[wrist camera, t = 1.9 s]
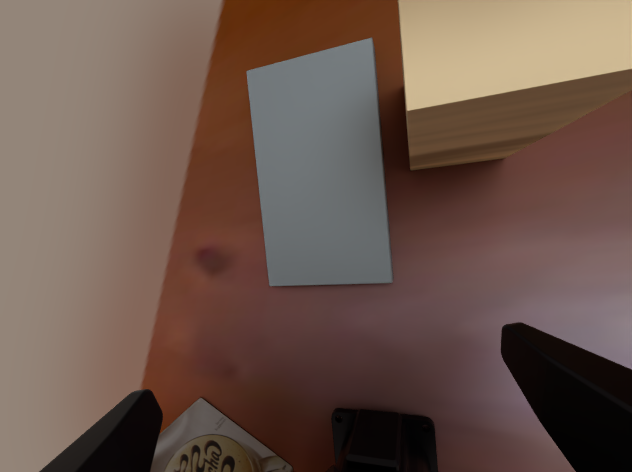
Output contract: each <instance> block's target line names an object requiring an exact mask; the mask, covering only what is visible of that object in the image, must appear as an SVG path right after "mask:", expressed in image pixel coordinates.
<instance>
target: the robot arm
mask: <svg viewBox="0 0 632 472" xmlns="http://www.w3.org/2000/svg"><path fill="white" fill-rule="evenodd" d="M501 355H502V358H503V360H504V362H505V364H506V365H507V367H508V369H509V370H510V372H511V374H512V375H513V377H514V379H515V381H516V382H517V384H518V386H519V387H520V389H521V391H522V392H523V394H524V396H525V397H526V399H527V401H528V403H529V404H530V406H531V408H532V409H533V411H534V413H535V414H536V416H537V417H538V419H539V421H540V422H541V424H542V425H543V427H544V428H545V429H546V431H547V432H548V434H549V435H550V436H551V438H552V439H553V441H554V442H555V443H556V445H557V446H558V448H559V449H560V450H561V452H562V453H563V455H564V456H565V457H566V459H567V460H568V461H569V463H570V464H571V466H572V467H573V468H574V470H575V471H576V472H632V370H631V369H629V368H627V367H624V366H622V365H620V364H617V363H615V362H613V361H610V360H608V359H606V358H603V357H601V356H599V355H596V354H594V353H592V352H589V351H587V350H585V349H582V348H580V347H578V346H575V345H573V344H571V343H568V342H566V341H564V340H561V339H559V338H557V337H554V336H552V335H550V334H547V333H545V332H543V331H540V330H538V329H536V328H533V327H531V326H529V325H526V324H524V323H520V322H517V323H512V324H506V325H504V326H503V328H502V334H501ZM338 415H339V416H341V417H342V419H339V418H338V417H337V416H338ZM162 420H163V414H162V410H161V408H160V406H159V404H158V402H157V400H156V398H155V396H154V394H153V392H152V391H151V390H149V389H144V390H139V391H134V392H132V393H131V394H129V395H128V396H127V397H126V398H124V399H123V400H122V401H121V402H120V403H119V404H117V405H116V406H115V407H114V408H113V409H112V410H110V411H109V412H108V413H107V414H106V415H105V416H103V417H102V418H101V419H100V420H99V421H98V422H96V423H95V424H94V425H93V426H92V427H91V428H90V429H88V430H87V431H86V432H85V433H84V434H83V435H81V436H80V437H79V438H78V439H77V440H76V441H74V442H73V443H72V444H71V445H70V446H69V447H67V448H66V449H65V450H64V451H63V452H62V453H61V454H59V455H58V456H57V457H56V458H55V459H53V460H52V461H51V462H50V463H49V464H48V465H47V466H45V467H44V468H43V469H42V470H41V471H39V472H150V470H151V466H152V462H153V458H154V454H155V450H156V446H157V442H158V437H159V433H160V429H161V425H162ZM423 425H428V426H429V428H424V427H423ZM332 429H333V439H334V449H335V460H336V467H335V466H334V465H332V466H331V467H330V468H329V469H328V470H327V471H326V472H438V466H437V453H436V440H435V428H434V423H433V421H432V420H431V419H430V418H428V417H423V416H413V415H403V414H398V413H393V412H383V411H373V410H363V409H361V410H352V409H342V408H337V409H335V410H334V412H333V414H332Z"/></svg>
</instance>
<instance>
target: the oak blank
mask: <svg viewBox="0 0 632 472" xmlns="http://www.w3.org/2000/svg"><path fill="white" fill-rule="evenodd" d="M398 11H399V25H400V39H401V53H402V67H403V81H404V95H405V108H406V121H407V134H408V147H409V160H410V171H412V170H419V169H427V168H435V167H442V166H450V165H457V164H465V163H473V162H480V161H488V160H495V159H503V158H506V157H508V156H510V155H512V154H514V153H516V152H517V151H519V150H521V149H523V148H525V147H527V146H529V145H530V144H532V143H534V142H536V141H538V140H540V139H542V138H543V137H545V136H547V135H549V134H551V133H553V132H555V131H556V130H558V129H560V128H562V127H564V126H566V125H568V124H569V123H571V122H573V121H575V120H577V119H579V118H581V117H582V116H584V115H586V114H588V113H590V112H592V111H593V110H595V109H597V108H599V107H601V106H603V105H605V104H606V103H608V102H610V101H612V100H614V99H616V98H618V97H619V96H621V95H623V94H625V93H627V92H629V91H631V90H632V0H398Z"/></svg>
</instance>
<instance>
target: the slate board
mask: <svg viewBox="0 0 632 472" xmlns="http://www.w3.org/2000/svg"><path fill="white" fill-rule="evenodd" d="M247 80H248V90H249V99H250V108H251V118H252V127H253V137H254V146H255V155H256V165H257V174H258V184H259V193H260V202H261V212H262V221H263V231H264V240H265V250H266V259H267V268H268V278H269V286H293V285H330V284H367V283H392V282H393V267H392V255H391V243H390V230H389V218H388V206H387V194H386V182H385V170H384V157H383V145H382V133H381V121H380V109H379V96H378V84H377V72H376V60H375V48H374V44H373V40H372V38H369V39H365V40H361V41H357V42H354V43H350V44H346V45H342V46H339V47H335V48H331V49H327V50H324V51H320V52H316V53H312V54H309V55H305V56H301V57H297V58H294V59H290V60H286V61H282V62H279V63H275V64H271V65H267V66H264V67H260V68H256V69H252V70H249V71H247Z"/></svg>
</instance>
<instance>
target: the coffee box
mask: <svg viewBox="0 0 632 472" xmlns="http://www.w3.org/2000/svg"><path fill="white" fill-rule="evenodd" d="M150 472H293V468H292V466H291V465H289V464H288V463H287V462H286V461H284V460H283V459H281V458H280V457H279V456H277V455H276V454H275V453H274V452H272V451H271V450H270V449H268V448H267V447H266V446H264V445H263V444H262V443H260V442H259V441H258V440H256V439H255V438H254V437H252V436H251V435H250V434H248V433H247V432H246V431H245V430H243V429H242V428H241V427H239V426H238V425H237V424H235V423H234V422H233V421H231V420H230V419H229V418H227V417H226V416H225V415H223V414H222V413H221V412H219V411H218V410H217V409H215V408H214V407H213V406H211V405H210V404H209V403H207V402H206V401H205V400H204V399H202V398H199V399H198V400H197V401H196V402H195V403H194V404H192V405H191V406H190V407H189V408H188V409H187V410H186V411H185V412H184V413H183V414H182V415H180V416H179V417H178V418H177V419H176V420H175V421H174V422H173V423H172V424H171V425H170V426H169V427H167V428H166V429H165V430H164V431H163V432H162V433H161V434H160V435H159V437H158V442H157V446H156V450H155V454H154V458H153V462H152V466H151V470H150Z"/></svg>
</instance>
